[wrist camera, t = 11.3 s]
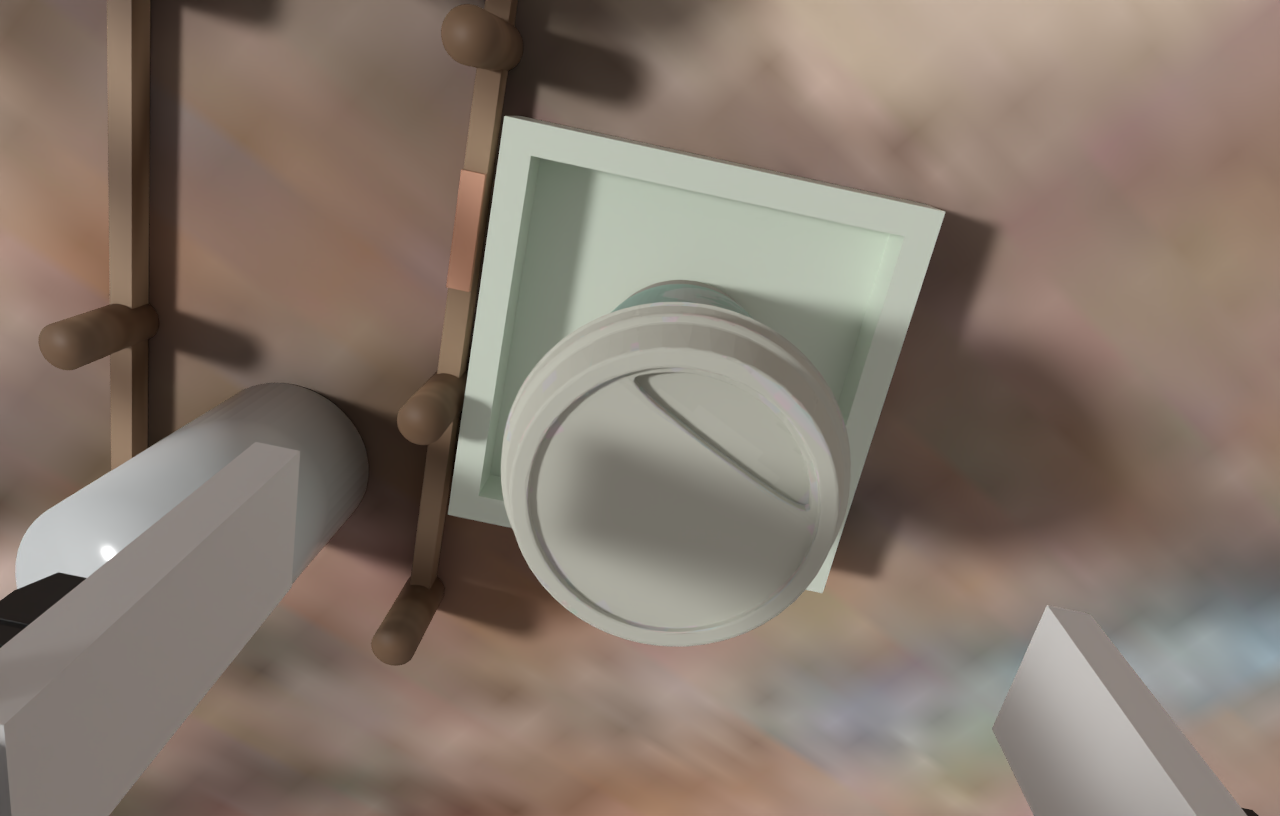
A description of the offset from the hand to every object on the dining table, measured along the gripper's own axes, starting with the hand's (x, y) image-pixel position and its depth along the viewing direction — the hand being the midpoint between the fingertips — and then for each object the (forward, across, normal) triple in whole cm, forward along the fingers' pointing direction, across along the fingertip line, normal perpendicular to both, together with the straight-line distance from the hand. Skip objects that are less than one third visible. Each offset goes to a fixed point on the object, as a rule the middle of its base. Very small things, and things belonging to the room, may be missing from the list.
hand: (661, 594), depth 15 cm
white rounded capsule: (+17, -14, -8) cm, 23 cm away
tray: (+17, 0, -1) cm, 17 cm away
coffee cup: (+16, 0, -1) cm, 17 cm away
